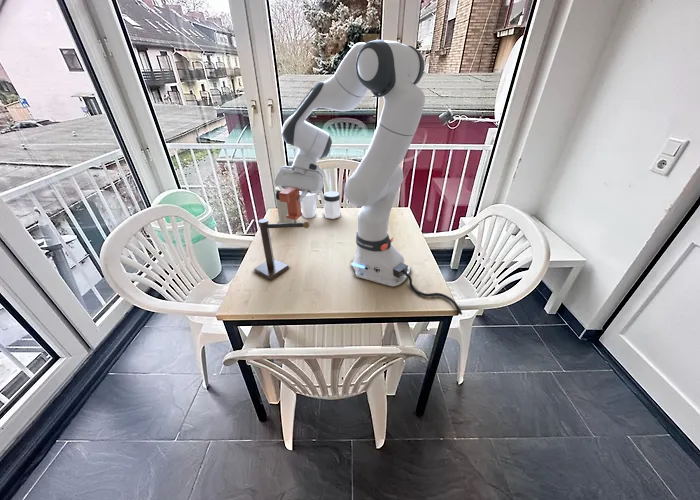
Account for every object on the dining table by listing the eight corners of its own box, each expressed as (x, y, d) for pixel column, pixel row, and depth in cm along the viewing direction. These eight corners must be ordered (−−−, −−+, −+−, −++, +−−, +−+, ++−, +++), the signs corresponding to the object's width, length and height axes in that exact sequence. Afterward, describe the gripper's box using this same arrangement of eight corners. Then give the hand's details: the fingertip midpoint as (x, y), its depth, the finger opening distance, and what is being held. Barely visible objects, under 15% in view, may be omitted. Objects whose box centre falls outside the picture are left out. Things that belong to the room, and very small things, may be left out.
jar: (334, 210, 156) (334, 189, 149) (343, 215, 150) (343, 194, 144) (320, 215, 151) (319, 193, 144) (329, 220, 146) (329, 198, 139)
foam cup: (317, 219, 147) (316, 195, 140) (299, 219, 146) (297, 195, 139) (318, 211, 155) (317, 188, 148) (301, 211, 154) (299, 188, 147)
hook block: (293, 213, 117) (290, 185, 111) (302, 215, 116) (299, 186, 110) (281, 221, 111) (277, 192, 104) (291, 223, 110) (287, 194, 103)
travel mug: (297, 218, 147) (293, 185, 137) (293, 225, 140) (289, 191, 131) (282, 217, 148) (277, 184, 138) (277, 224, 141) (272, 190, 131)
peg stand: (251, 281, 104) (240, 230, 92) (257, 261, 114) (248, 213, 103) (312, 278, 106) (308, 227, 94) (313, 258, 116) (309, 211, 105)
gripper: (277, 161, 114) (266, 192, 111) (323, 167, 107) (312, 200, 105) (284, 169, 119) (274, 199, 117) (328, 175, 113) (318, 207, 111)
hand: (292, 200), depth 111 cm, fingers closed on hook block, 4 cm apart
